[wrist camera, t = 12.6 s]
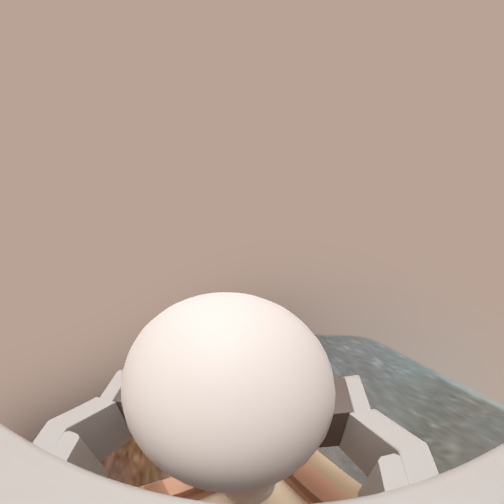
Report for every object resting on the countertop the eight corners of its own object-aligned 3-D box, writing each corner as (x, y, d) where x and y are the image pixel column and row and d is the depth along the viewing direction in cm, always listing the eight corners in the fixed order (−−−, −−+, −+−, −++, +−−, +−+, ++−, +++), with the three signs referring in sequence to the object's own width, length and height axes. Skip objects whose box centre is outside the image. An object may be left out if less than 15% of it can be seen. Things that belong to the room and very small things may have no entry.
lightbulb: (291, 434, 13) (291, 249, 10) (329, 519, 8) (407, 352, 4) (184, 452, 12) (116, 274, 9) (196, 546, 7) (49, 413, 3)
